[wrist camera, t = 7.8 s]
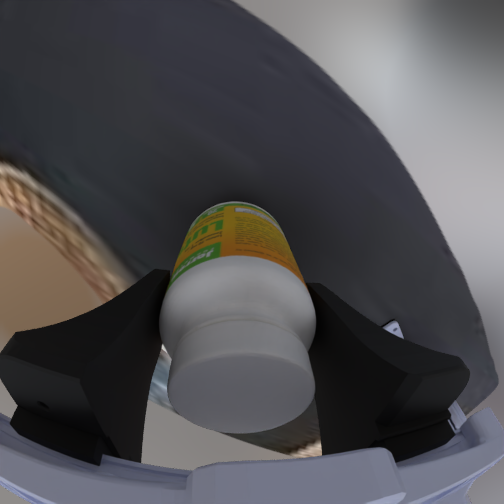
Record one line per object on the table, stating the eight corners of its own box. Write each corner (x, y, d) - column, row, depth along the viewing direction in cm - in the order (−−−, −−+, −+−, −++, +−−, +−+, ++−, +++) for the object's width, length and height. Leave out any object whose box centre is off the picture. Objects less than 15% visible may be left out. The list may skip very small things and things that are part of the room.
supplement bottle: (217, 179, 14) (191, 285, 5) (303, 231, 15) (381, 367, 7) (169, 262, 16) (119, 411, 7) (250, 303, 17) (266, 452, 8)
